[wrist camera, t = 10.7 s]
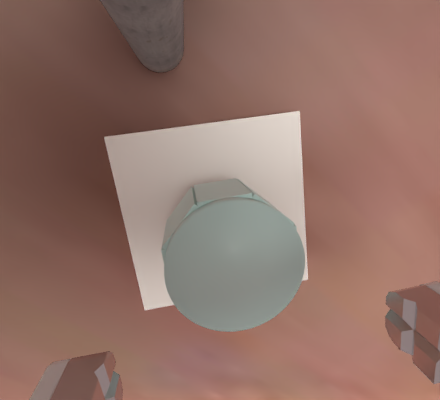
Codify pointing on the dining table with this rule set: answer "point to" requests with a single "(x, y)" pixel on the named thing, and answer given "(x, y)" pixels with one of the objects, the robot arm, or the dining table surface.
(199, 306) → the cap
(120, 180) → the post stand
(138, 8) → the hip flask
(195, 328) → the dining table surface
